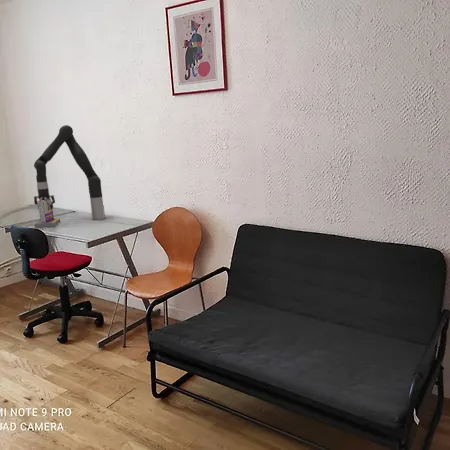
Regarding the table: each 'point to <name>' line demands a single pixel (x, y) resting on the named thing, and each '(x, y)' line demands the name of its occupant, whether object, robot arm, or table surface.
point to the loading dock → (48, 224)
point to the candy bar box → (45, 211)
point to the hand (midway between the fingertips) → (45, 209)
